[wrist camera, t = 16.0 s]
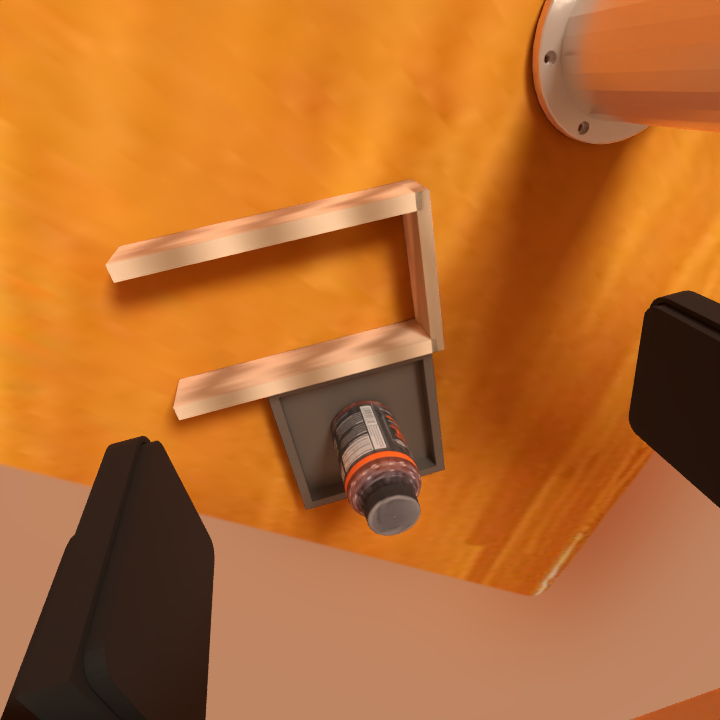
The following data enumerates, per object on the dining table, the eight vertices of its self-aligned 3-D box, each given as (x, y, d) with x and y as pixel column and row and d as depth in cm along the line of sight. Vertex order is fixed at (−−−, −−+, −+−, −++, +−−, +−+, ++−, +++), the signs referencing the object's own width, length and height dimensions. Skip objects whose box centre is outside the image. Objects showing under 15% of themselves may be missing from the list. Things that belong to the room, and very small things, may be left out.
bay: (411, 179, 35) (429, 189, 32) (427, 327, 41) (444, 349, 38) (119, 246, 33) (105, 264, 30) (184, 391, 39) (179, 420, 36)
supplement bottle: (403, 429, 46) (446, 521, 36) (348, 459, 46) (376, 558, 36) (376, 385, 42) (415, 474, 33) (318, 417, 43) (339, 514, 33)
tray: (423, 337, 42) (431, 348, 40) (437, 455, 49) (444, 469, 47) (265, 378, 40) (266, 392, 39) (303, 494, 48) (306, 509, 46)
